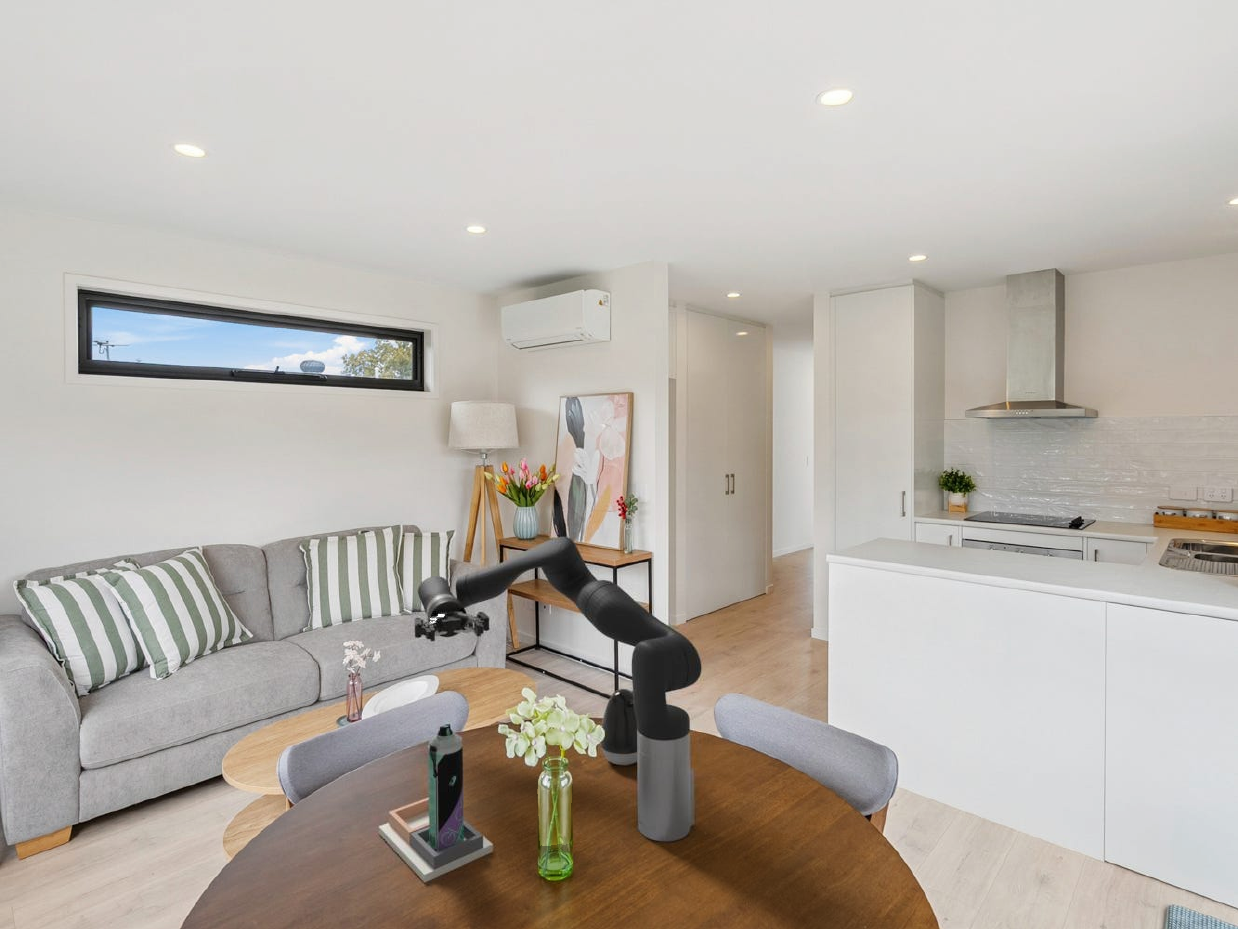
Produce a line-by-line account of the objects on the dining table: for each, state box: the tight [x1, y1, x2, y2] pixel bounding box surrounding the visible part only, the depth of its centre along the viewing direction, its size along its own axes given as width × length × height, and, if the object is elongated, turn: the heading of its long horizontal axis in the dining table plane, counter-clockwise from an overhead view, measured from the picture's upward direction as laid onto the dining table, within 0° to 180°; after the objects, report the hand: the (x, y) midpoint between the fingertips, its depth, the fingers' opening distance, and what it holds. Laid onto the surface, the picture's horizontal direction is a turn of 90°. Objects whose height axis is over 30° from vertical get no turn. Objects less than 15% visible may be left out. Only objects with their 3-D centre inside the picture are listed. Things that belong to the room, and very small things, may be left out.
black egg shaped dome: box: [599, 688, 637, 766], centre depth 143 cm, size 10×10×15 cm
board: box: [378, 796, 494, 883], centre depth 113 cm, size 12×18×3 cm, turn 41°
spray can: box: [427, 723, 465, 853], centre depth 110 cm, size 6×6×20 cm
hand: (456, 633), depth 126 cm, fingers open, 8 cm apart
